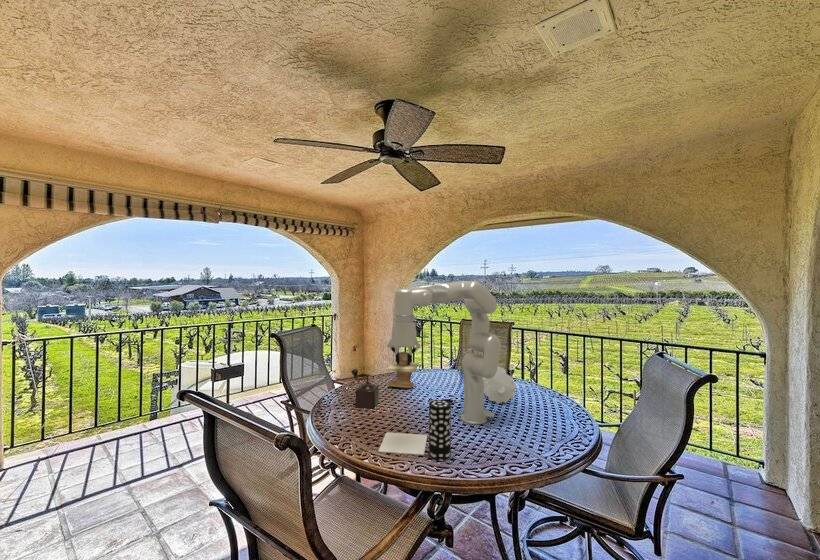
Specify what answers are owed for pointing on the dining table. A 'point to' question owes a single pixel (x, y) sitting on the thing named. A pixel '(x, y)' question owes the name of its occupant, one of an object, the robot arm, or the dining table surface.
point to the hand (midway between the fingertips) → (403, 363)
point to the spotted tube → (439, 430)
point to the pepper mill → (366, 393)
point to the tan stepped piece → (402, 380)
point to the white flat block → (403, 443)
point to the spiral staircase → (499, 386)
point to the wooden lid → (403, 364)
